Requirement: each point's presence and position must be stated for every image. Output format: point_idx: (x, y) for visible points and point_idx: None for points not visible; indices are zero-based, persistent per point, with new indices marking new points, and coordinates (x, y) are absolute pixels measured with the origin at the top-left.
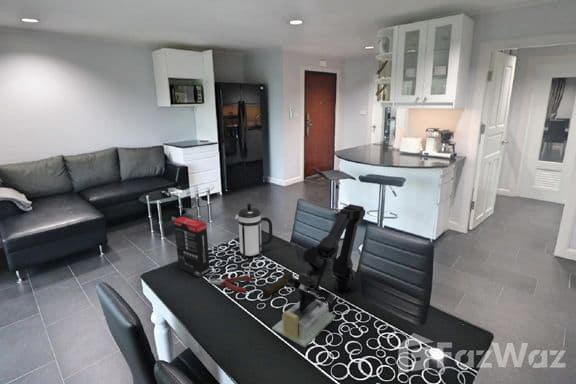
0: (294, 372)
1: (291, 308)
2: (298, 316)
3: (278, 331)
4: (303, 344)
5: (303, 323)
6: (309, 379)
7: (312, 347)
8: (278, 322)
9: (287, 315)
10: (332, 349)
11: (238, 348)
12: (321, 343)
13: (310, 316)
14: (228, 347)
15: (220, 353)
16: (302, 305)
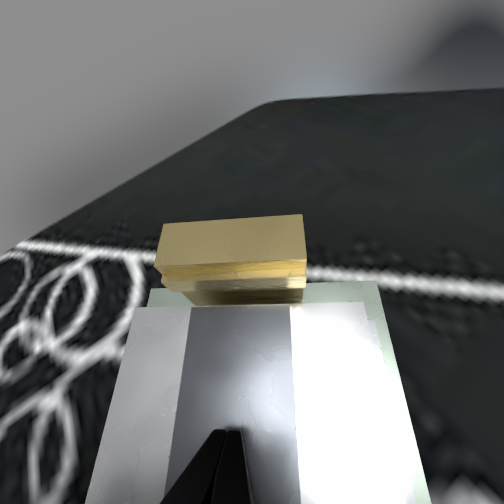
0: (145, 190)
1: (383, 460)
2: (211, 352)
3: (324, 283)
4: (160, 291)
5: (149, 326)
6: (93, 200)
7: (124, 318)
8: (390, 341)
9: (253, 224)
10: (28, 372)
11: (369, 140)
12: (89, 373)
13: (126, 468)
14: (399, 124)
15: (389, 103)
16: (192, 498)
